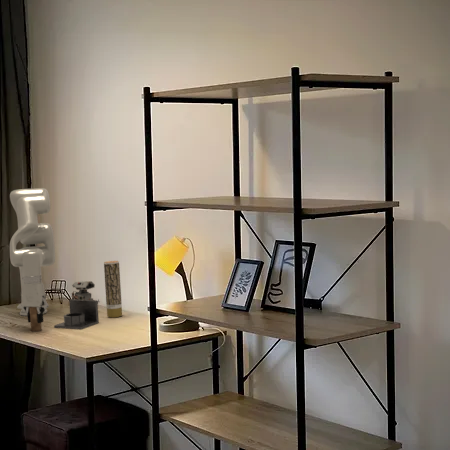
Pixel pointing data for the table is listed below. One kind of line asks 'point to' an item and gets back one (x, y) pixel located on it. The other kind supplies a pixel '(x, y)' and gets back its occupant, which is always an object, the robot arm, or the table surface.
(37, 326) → the brown wooden cylinder
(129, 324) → the table surface
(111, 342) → the table surface
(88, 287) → the figurine
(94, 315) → the bracket
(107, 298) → the paper tube
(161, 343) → the table surface
